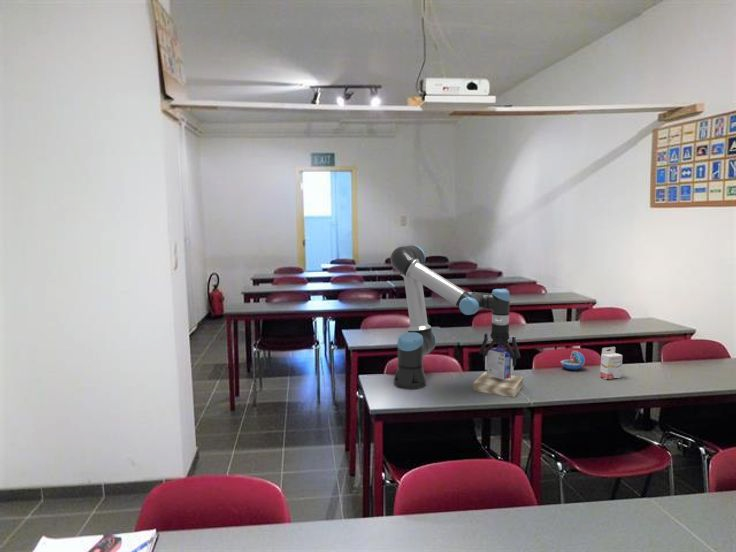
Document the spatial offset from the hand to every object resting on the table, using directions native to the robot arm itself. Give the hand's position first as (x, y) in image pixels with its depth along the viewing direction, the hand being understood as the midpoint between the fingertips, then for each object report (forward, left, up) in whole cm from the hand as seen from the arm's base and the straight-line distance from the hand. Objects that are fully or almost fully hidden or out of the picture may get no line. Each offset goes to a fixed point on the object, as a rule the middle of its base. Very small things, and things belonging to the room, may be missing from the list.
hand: (499, 371), depth 223 cm
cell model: (+26, +46, -8) cm, 53 cm away
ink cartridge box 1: (0, 0, -3) cm, 3 cm away
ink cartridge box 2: (+44, +40, -8) cm, 60 cm away
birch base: (0, 0, -8) cm, 8 cm away
